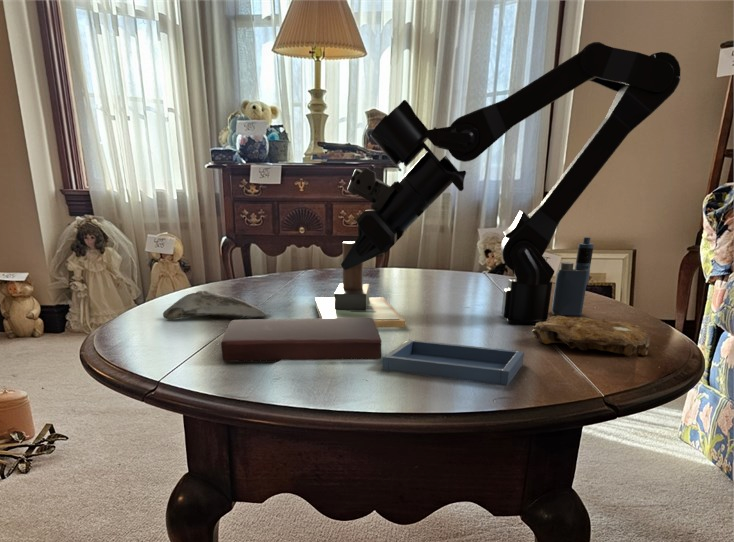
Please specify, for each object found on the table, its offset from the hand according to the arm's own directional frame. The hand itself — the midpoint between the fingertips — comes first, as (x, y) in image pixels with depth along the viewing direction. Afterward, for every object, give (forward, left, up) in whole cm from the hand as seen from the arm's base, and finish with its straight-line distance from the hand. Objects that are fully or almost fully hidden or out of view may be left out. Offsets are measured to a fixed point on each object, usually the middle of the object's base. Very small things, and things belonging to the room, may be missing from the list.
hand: (344, 266), depth 105 cm
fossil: (+20, +4, -8) cm, 22 cm away
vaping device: (-37, -3, -8) cm, 38 cm away
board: (-2, +3, -7) cm, 8 cm away
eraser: (-1, 0, -6) cm, 6 cm away
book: (+4, +26, -8) cm, 27 cm away
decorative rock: (-34, +21, -8) cm, 41 cm away
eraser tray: (-15, +33, -7) cm, 37 cm away
